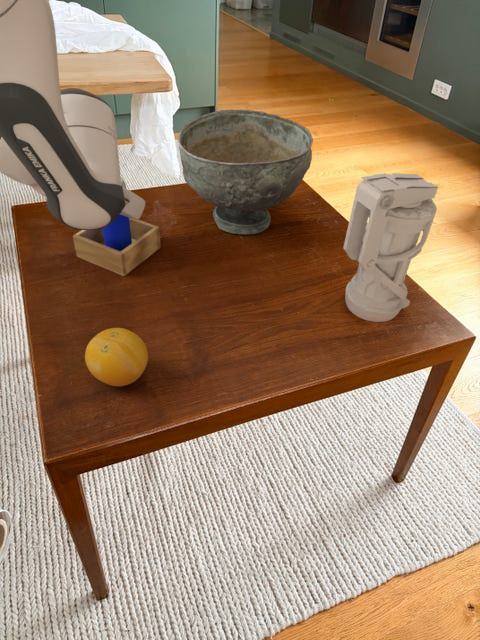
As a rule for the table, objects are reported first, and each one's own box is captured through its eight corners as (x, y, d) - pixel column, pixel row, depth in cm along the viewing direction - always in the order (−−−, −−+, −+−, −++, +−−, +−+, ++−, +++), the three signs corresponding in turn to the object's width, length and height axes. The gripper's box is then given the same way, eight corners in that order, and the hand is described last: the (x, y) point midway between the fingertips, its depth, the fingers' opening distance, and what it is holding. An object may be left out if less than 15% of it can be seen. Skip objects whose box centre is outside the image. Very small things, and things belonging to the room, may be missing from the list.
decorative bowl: (296, 192, 120) (305, 107, 106) (311, 254, 101) (323, 161, 88) (187, 192, 119) (182, 107, 106) (181, 254, 101) (173, 161, 87)
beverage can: (138, 249, 99) (131, 179, 89) (120, 261, 96) (110, 189, 86) (118, 240, 101) (109, 171, 91) (100, 252, 97) (89, 181, 87)
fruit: (80, 389, 72) (70, 350, 67) (103, 351, 78) (96, 312, 73) (137, 401, 71) (132, 363, 65) (157, 362, 77) (154, 324, 71)
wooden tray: (124, 276, 93) (121, 254, 89) (76, 256, 96) (72, 235, 93) (160, 247, 100) (159, 226, 97) (115, 230, 104) (112, 210, 101)
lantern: (376, 281, 95) (412, 156, 79) (413, 314, 89) (461, 184, 72) (320, 298, 91) (347, 169, 74) (355, 334, 84) (393, 200, 67)
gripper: (125, 173, 75) (166, 205, 88) (26, 142, 82) (78, 175, 95) (109, 212, 75) (153, 238, 88) (12, 177, 82) (66, 206, 95)
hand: (113, 205), depth 91 cm, fingers open, 8 cm apart
